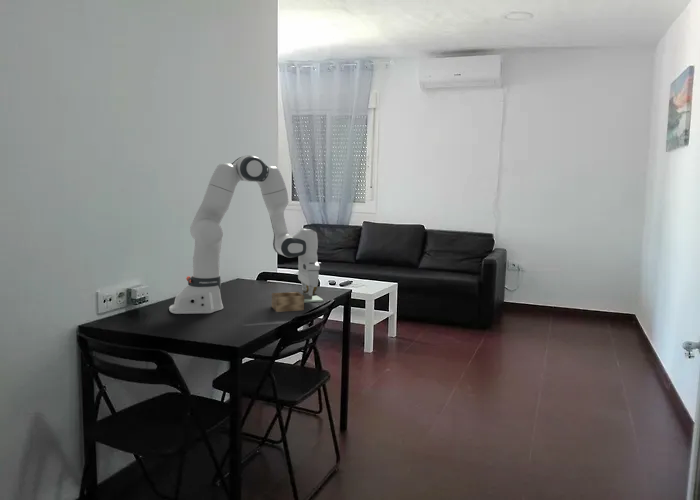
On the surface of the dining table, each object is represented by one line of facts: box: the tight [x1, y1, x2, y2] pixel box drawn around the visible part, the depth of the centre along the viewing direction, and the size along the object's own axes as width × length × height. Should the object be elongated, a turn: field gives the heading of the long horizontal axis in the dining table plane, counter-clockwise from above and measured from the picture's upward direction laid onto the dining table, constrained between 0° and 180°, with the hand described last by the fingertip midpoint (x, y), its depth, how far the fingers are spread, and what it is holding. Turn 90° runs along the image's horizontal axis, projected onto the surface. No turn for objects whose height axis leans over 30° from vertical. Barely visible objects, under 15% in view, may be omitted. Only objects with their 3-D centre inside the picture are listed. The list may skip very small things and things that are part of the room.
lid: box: [302, 292, 324, 304], centre depth 271 cm, size 13×10×4 cm
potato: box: [302, 284, 319, 295], centre depth 287 cm, size 8×13×8 cm, turn 163°
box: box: [271, 291, 305, 313], centre depth 253 cm, size 12×9×7 cm
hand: (307, 293), depth 270 cm, fingers open, 8 cm apart
